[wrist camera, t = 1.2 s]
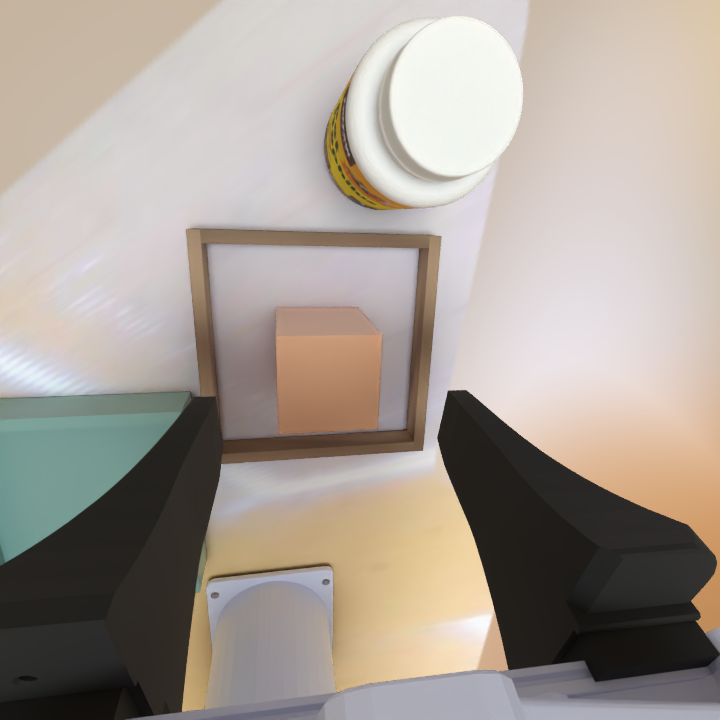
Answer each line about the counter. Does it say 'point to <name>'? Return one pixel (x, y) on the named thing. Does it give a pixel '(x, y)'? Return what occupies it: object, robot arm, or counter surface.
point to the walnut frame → (420, 354)
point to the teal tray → (72, 457)
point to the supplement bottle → (424, 114)
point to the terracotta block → (327, 369)
